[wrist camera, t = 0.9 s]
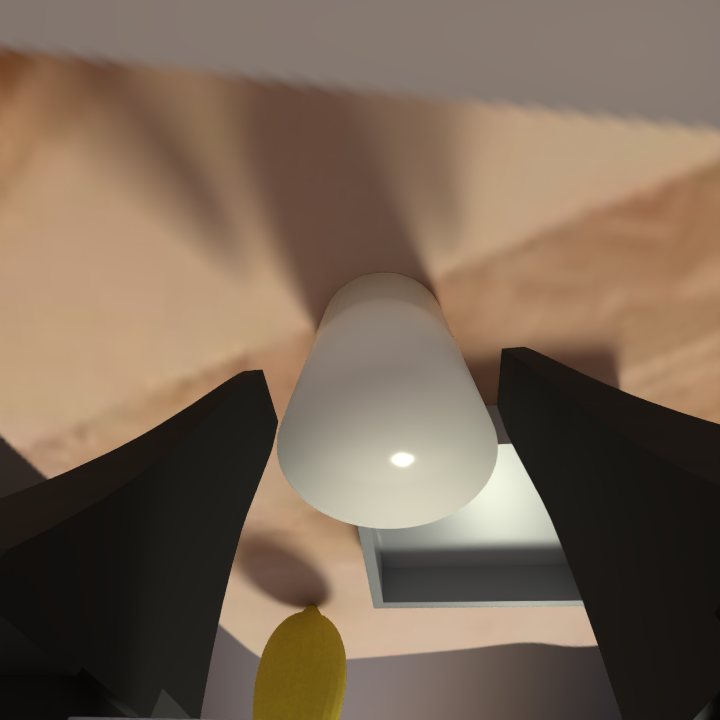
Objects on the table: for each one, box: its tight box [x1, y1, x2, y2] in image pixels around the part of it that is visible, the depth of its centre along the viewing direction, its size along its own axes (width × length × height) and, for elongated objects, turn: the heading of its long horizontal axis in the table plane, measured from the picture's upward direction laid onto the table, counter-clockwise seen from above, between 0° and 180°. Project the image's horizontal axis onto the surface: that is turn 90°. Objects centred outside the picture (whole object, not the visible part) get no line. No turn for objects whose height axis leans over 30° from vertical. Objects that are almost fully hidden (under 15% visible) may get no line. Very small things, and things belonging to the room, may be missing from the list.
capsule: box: [277, 272, 498, 529], centre depth 11 cm, size 5×5×7 cm
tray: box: [358, 405, 584, 608], centre depth 17 cm, size 12×12×2 cm
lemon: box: [253, 605, 347, 720], centre depth 21 cm, size 6×6×8 cm
